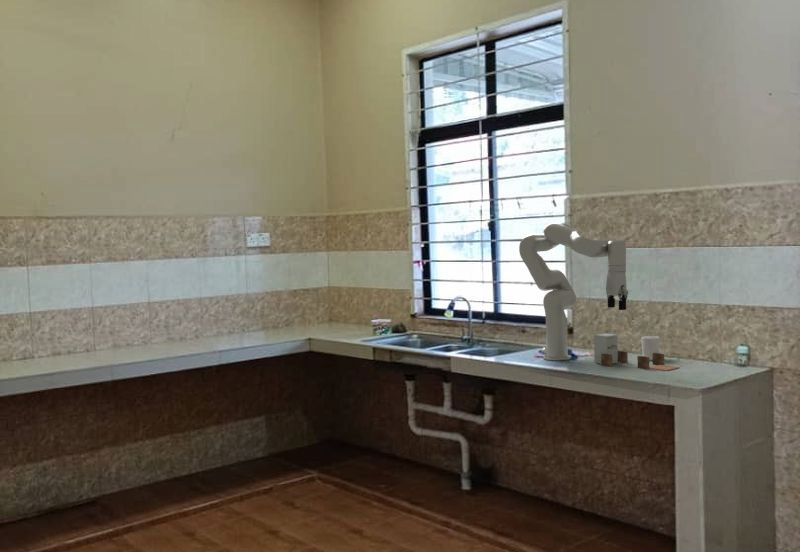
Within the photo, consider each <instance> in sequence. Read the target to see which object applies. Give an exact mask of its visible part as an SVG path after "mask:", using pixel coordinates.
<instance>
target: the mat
mask: <svg viewBox="0 0 800 552" xmlns="http://www.w3.org/2000/svg"><path fill="white" fill-rule="evenodd" d="M649 368H650V369H649V370H655V371H656V370H657V371H663V372H669V371H674V370H677V369H680V367H679V366H673V365H666V364H664V365H652V366H649Z"/></svg>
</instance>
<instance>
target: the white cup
mask: <svg viewBox="0 0 800 552" xmlns="http://www.w3.org/2000/svg"><path fill="white" fill-rule="evenodd" d="M660 338H661V337H660V336H657V335H656V336H655V335H645V336H644V335H643V336H641V337H640V339H641V341H640V342H641V353H642V356H645V357H649V361H653V355H652V353H660V342H661V341H660V340H661V339H660Z"/></svg>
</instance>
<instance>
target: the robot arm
mask: <svg viewBox="0 0 800 552" xmlns="http://www.w3.org/2000/svg"><path fill="white" fill-rule="evenodd" d="M559 245H561V246H564V247H567V248H570V249H571V250H572V251H574V252H575V253H577V254H580V255H583V256H586V257H590V258H604V257H607V275H606V282H605V283H606V284H605V285H606V287H605V293H606V298H607V308H609V309H610V308H615V307H616V298H615V297H618V310H619V311H623V310H624V311H625V310H627V300H628V294H629V290H628V289H627V288H628V287H627V275H626V273H627V242H626V241H625V240H622V239H621V240H620V239H618V240H617V239H616V240H613V239H611V240H610V239H590V238H587V237H584V236H582V235H581V232H580V231H579V230H578V229H575V228H573V227H571V226H570V225H569V224H568V223H566V222H561V221H560V222H550V223H547V224H546V225H545V226H544V228H543V233H529V234H527V235H525V236H523V238H522V239H520V242H519V246H518V248H519V250H518V251H519V256H520V258H521V259H522V262H523V263H524V264H525V267H526V268H527V270H528V272H529V274H530V276H531V277H532V279H533V281H534V283H535V284H536V286H537V289H539V290H540V291H548V292H547V293H546V294H545V295H544V297H543V300H542V301H543V308H544V313H545V314H544V315H545V331H546V332H545V337H546V339H545V340H546V341H545V342H546V347H543V348H542V349H540V352H541V353H542V354H543V353H544V355H543V359H544V360H547V361H558V362H559V361H569V360H571V359H572V355H570V354H568V351H569V349H568V320H567V315H566V313H565V312H566V310H570V309H572V308H573V307H575V306H576V304H577V296H576V293H575V291H574V289H573V287H572V285H571V283H570V282H569V280H568V278H567V277H566V275H565V274H564V273H563V272H562V271H561V270H559V269H551V268H550V267H549V266H548V265H547V263H546V261H545V260H544V259H543V257H542V256H541V255H540V254H539V253H538V252H548V251H551V250H552V249H554V248H556V247H557V246H559Z"/></svg>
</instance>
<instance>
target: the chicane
mask: <svg viewBox="0 0 800 552" xmlns="http://www.w3.org/2000/svg"><path fill="white" fill-rule="evenodd" d="M617 352H618V362H617V363H621V364H628V362H629V360H628V351H627V350H618V349H617ZM652 355H653V360H652V365H653V366H656V365H665V353H661V352H659V353H652ZM636 360H637V369H644V370H651V369H650V368H649V367H650V360H649V357H645V356H643V355H637V359H636ZM600 366H604V367H605V366H606V367H613V363H612V355H611V354H603V353H602V354H601V364H600Z"/></svg>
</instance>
